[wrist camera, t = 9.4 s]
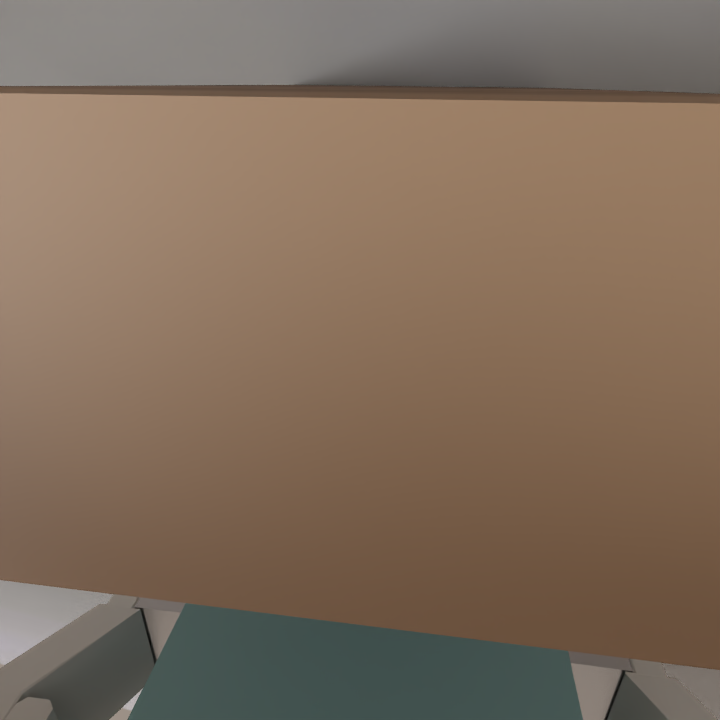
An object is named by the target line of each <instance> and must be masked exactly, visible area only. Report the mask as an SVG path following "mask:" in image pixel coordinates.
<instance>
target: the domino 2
mask: <svg viewBox="0 0 720 720" xmlns="http://www.w3.org/2000/svg"><path fill="white" fill-rule="evenodd" d="M128 720H583V717H582V713H581V708H580V703H579V699H578V694H577V690H576V685H575V681H574V676H573V672H572V667H571V663H570V658H569V653H568V651H564V650H557V649H549V648H541V647H533V646H525V645H517V644H509V643H501V642H493V641H485V640H477V639H469V638H461V637H453V636H445V635H437V634H429V633H421V632H413V631H405V630H397V629H389V628H381V627H373V626H365V625H357V624H349V623H341V622H333V621H325V620H317V619H309V618H301V617H293V616H285V615H277V614H269V613H261V612H253V611H245V610H237V609H229V608H221V607H213V606H205V605H197V604H189V603H185V605H184V607H183V609H182V611H181V613H180V615H179V617H178V619H177V621H176V623H175V625H174V627H173V629H172V631H171V633H170V635H169V637H168V639H167V641H166V643H165V645H164V647H163V649H162V651H161V653H160V655H159V657H158V659H157V661H156V663H155V665H154V667H153V669H152V671H151V673H150V675H149V677H148V679H147V681H146V683H145V685H144V688H143V690H142V692H141V694H140V696H139V698H138V700H137V702H136V704H135V706H134V708H133V710H132V712H131V714H130V716H129V718H128Z"/></svg>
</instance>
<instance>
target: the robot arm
mask: <svg viewBox="0 0 720 720" xmlns="http://www.w3.org/2000/svg"><path fill="white" fill-rule="evenodd" d="M184 605H185V603H181V602H173V601H165V600H157V599H149V598H141V597H133V596H125V595H117V594H113V596H112V597H111V599H110V600H109V602H108V603H107V604H99V605H97V606H96V607H94V608H93V609H91V610H90V611H88V612H86V613H85V614H83V615H82V616H80V617H79V618H77V619H76V620H74V621H73V622H71V623H69V624H68V625H66V626H65V627H63V628H62V629H60V630H59V631H57V632H56V633H54V634H52V635H51V636H49V637H48V638H46V639H45V640H43V641H42V642H40V643H39V644H37V645H35V646H34V647H32V648H31V649H29V650H28V651H26V652H25V653H23V654H22V655H20V656H18V657H17V658H15V659H14V660H12V661H11V662H9V663H8V664H6V665H5V666H3V667H1V668H0V720H109V719H110V718H111V717H112V716H114V714H116V713H117V712H118V711H119V710H120V709H121V708H122V707H123V706H124V705H125V704H126V703H127V702H128V701H129V700H131V699H132V698H133V697H134V696H135V695H136V694H137V693H138V692H139V691H140V690H141V689H142V688H143V687H144V685H145V683H146V681H147V679H148V677H149V675H150V673H151V671H152V669H153V667H154V665H155V663H156V661H157V659H158V657H159V655H160V653H161V651H162V649H163V647H164V645H165V643H166V641H167V639H168V637H169V635H170V633H171V631H172V629H173V627H174V625H175V623H176V621H177V619H178V617H179V615H180V613H181V611H182V609H183V607H184ZM568 653H569V658H570V663H571V667H572V672H573V676H574V681H575V685H576V690H577V694H578V699H579V703H580V708H581V713H582V717H583V720H718V719H717V718H716V717H715V716H714V715H713V714H712V713H711V712H710V711H709V710H708V709H707V708H706V707H705V706H704V705H703V704H702V703H701V702H700V701H698V700H697V699H696V698H695V697H694V696H693V695H692V694H691V693H690V692H689V691H688V690H687V689H686V688H685V687H684V686H683V685H682V684H681V683H680V682H679V681H678V680H677V679H676V678H670V677H667V675H666V672H665V670H664V667H663V665H662V663H660V662H652V661H644V660H636V659H628V658H620V657H612V656H604V655H596V654H588V653H580V652H572V651H568Z"/></svg>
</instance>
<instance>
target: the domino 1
mask: <svg viewBox="0 0 720 720" xmlns="http://www.w3.org/2000/svg"><path fill="white" fill-rule="evenodd" d="M0 580H5V581H13V582H21V583H29V584H37V585H45V586H53V587H61V588H69V589H77V590H85V591H93V592H101V593H109V594H117V595H125V596H133V597H141V598H149V599H157V600H165V601H173V602H181V603H189V604H197V605H205V606H213V607H221V608H229V609H237V610H245V611H253V612H261V613H269V614H277V615H285V616H293V617H301V618H309V619H317V620H325V621H333V622H341V623H349V624H357V625H365V626H373V627H381V628H389V629H397V630H405V631H413V632H421V633H429V634H437V635H445V636H453V637H461V638H469V639H477V640H485V641H493V642H501V643H509V644H517V645H525V646H533V647H541V648H549V649H557V650H564V651H572V652H580V653H588V654H596V655H604V656H612V657H620V658H628V659H636V660H644V661H652V662H660V663H668V664H676V665H684V666H692V667H700V668H708V669H716V670H720V94H708V93H679V92H650V91H620V90H591V89H562V88H504V87H421V86H337V85H175V86H0Z"/></svg>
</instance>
